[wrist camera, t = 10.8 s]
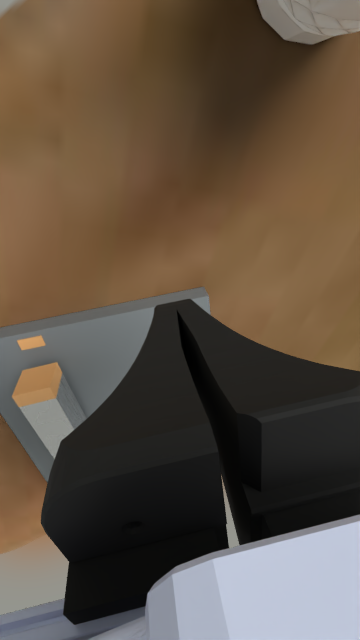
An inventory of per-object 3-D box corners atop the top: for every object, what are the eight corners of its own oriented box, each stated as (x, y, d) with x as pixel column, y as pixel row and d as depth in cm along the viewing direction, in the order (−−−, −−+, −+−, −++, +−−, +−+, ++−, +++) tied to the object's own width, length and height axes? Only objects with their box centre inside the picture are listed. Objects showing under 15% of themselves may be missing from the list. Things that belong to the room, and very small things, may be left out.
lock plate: (51, 470, 30) (37, 539, 25) (-35, 334, 21) (-85, 398, 16) (219, 431, 31) (238, 489, 26) (203, 286, 22) (228, 332, 17)
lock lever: (116, 459, 28) (115, 494, 25) (77, 469, 28) (72, 505, 25) (65, 358, 21) (57, 390, 19) (14, 370, 21) (-1, 404, 19)
